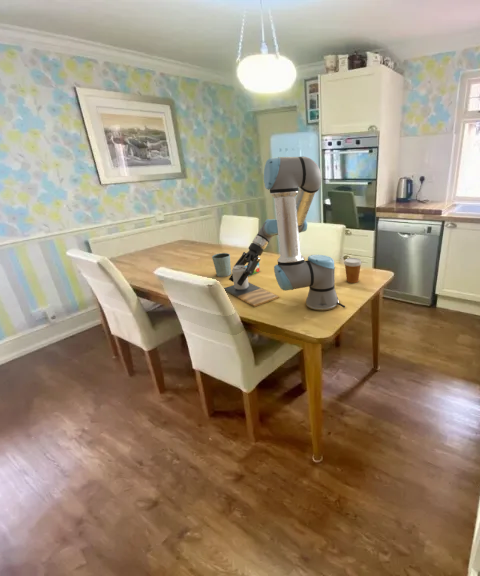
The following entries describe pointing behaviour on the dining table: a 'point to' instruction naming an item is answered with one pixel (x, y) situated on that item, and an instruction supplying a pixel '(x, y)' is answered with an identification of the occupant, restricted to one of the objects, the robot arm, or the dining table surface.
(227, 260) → the grey cylindrical pot
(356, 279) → the disposable coffee cup
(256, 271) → the colorful food box
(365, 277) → the dining table surface
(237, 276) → the can
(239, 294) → the board
